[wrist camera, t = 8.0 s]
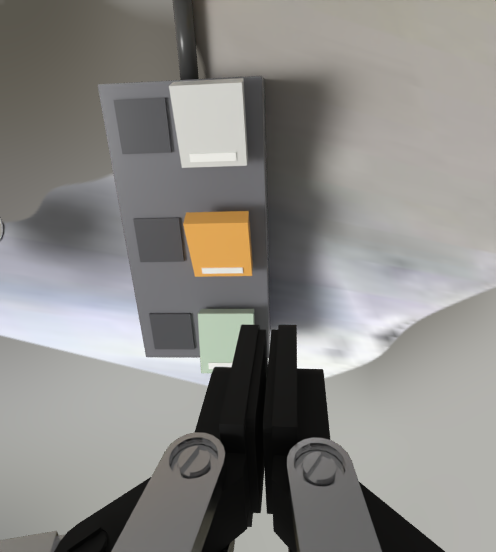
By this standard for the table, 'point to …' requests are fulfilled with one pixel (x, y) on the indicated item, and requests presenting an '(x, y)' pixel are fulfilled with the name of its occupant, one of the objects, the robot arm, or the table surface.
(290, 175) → the table surface
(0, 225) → the wineglass
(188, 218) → the orange white-striped slab
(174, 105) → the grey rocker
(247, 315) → the green rocker
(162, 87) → the power strip
